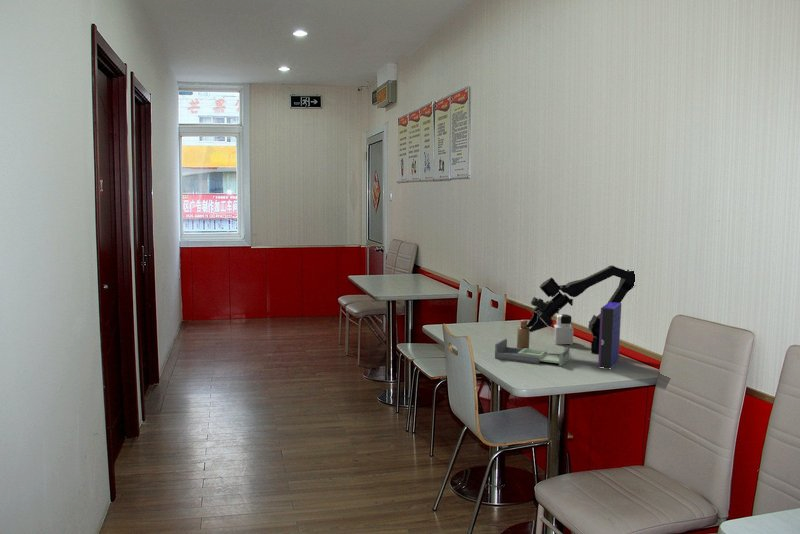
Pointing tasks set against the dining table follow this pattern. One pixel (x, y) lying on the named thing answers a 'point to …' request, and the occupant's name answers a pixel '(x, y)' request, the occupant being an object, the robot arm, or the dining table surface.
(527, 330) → the vinegar bottle
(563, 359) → the tray
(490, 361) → the dining table surface
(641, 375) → the dining table surface
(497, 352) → the dock
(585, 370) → the dining table surface
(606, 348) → the cereal box
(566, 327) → the container
